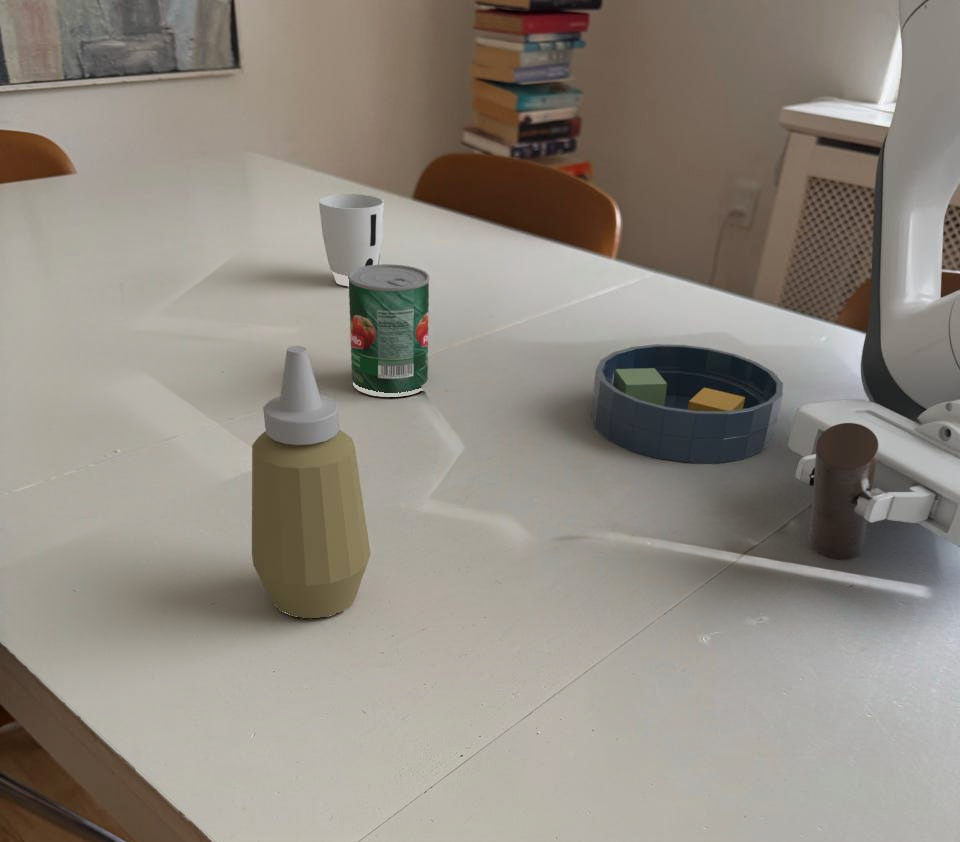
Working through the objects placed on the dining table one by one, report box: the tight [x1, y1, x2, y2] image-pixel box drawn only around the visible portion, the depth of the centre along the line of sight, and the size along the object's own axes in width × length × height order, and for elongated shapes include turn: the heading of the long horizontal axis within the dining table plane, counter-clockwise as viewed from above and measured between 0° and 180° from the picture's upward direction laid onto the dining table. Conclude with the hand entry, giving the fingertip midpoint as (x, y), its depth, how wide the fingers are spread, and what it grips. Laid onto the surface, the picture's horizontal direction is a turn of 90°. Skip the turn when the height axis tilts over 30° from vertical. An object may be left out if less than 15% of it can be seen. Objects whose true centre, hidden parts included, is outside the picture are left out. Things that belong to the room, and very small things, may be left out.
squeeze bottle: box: [251, 345, 371, 620], centre depth 65 cm, size 8×8×18 cm
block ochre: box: [688, 388, 745, 411], centre depth 92 cm, size 4×4×4 cm
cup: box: [318, 193, 385, 276], centre depth 128 cm, size 8×8×10 cm
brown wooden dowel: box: [809, 423, 879, 561], centre depth 73 cm, size 4×4×12 cm
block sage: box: [613, 368, 667, 406], centre depth 96 cm, size 4×4×4 cm
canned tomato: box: [348, 263, 430, 393], centre depth 100 cm, size 8×8×11 cm
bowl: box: [590, 343, 784, 464], centre depth 95 cm, size 17×17×6 cm
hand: (832, 490), depth 71 cm, fingers closed on brown wooden dowel, 4 cm apart
